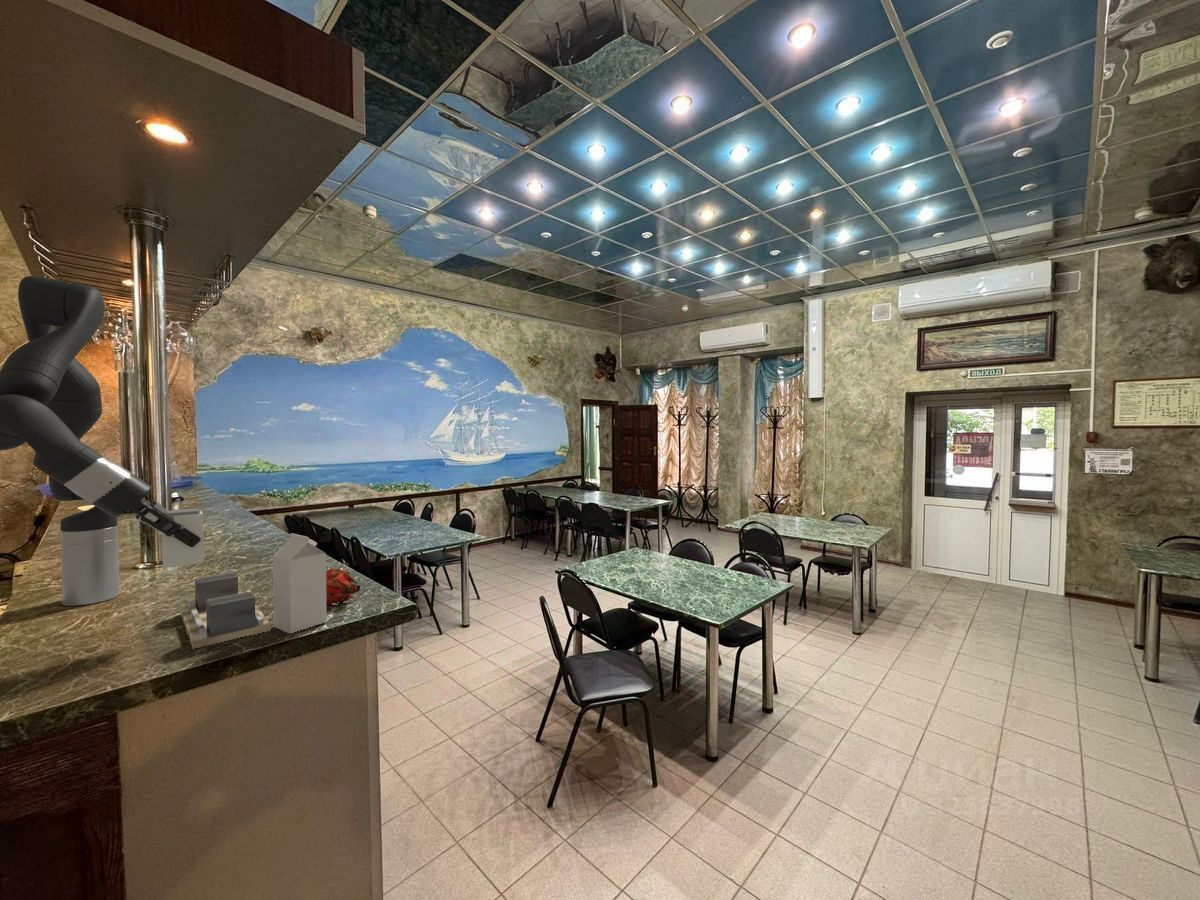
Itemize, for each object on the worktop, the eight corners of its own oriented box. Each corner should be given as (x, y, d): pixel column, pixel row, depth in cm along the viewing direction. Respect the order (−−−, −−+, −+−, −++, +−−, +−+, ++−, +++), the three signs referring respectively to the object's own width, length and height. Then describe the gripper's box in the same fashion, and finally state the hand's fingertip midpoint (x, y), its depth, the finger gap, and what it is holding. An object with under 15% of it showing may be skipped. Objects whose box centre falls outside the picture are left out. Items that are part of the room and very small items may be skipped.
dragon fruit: (326, 601, 117) (350, 619, 110) (297, 589, 111) (320, 607, 104) (349, 570, 120) (373, 586, 114) (321, 557, 114) (345, 572, 107)
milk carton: (290, 635, 94) (289, 540, 93) (273, 627, 97) (272, 536, 97) (326, 623, 100) (326, 534, 99) (309, 616, 103) (308, 530, 103)
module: (162, 563, 95) (161, 510, 94) (201, 557, 99) (200, 507, 99) (163, 568, 91) (162, 514, 91) (204, 562, 95) (203, 510, 95)
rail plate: (180, 614, 104) (179, 580, 103) (247, 601, 112) (247, 570, 112) (192, 649, 87) (192, 609, 87) (270, 630, 96) (270, 594, 95)
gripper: (129, 474, 84) (216, 532, 93) (130, 469, 94) (208, 521, 103) (86, 506, 81) (181, 563, 89) (91, 498, 91) (176, 549, 100)
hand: (195, 540), depth 96 cm, fingers closed on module, 5 cm apart
